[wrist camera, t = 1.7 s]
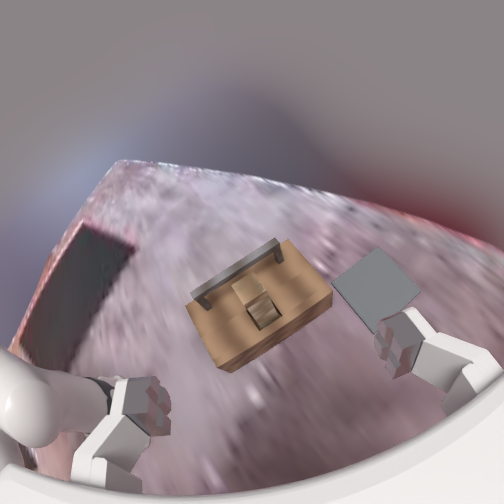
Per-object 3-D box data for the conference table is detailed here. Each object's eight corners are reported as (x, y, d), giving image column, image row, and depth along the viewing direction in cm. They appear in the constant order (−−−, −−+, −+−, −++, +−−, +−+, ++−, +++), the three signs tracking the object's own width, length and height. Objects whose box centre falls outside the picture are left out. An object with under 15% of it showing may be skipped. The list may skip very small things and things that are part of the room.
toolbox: (231, 373, 51) (202, 361, 39) (201, 318, 58) (169, 292, 46) (331, 306, 53) (334, 274, 41) (292, 258, 61) (283, 219, 49)
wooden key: (264, 332, 50) (243, 305, 37) (254, 317, 52) (231, 285, 39) (281, 321, 50) (266, 290, 38) (270, 306, 52) (252, 271, 40)
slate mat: (373, 334, 48) (373, 333, 47) (331, 283, 56) (331, 282, 55) (420, 291, 49) (421, 290, 49) (378, 247, 57) (378, 246, 56)
